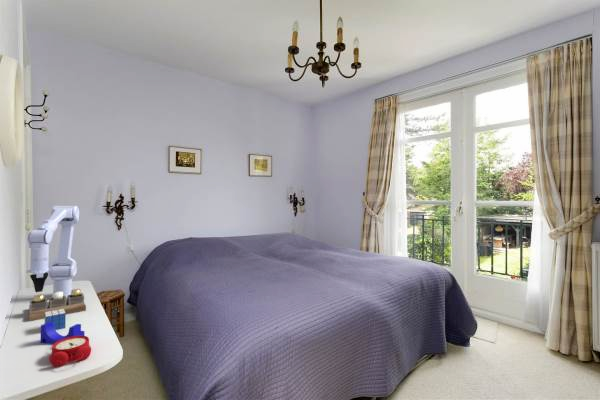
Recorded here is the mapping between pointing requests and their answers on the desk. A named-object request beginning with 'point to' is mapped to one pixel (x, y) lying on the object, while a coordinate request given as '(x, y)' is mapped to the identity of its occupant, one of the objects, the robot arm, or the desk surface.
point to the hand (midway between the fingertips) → (38, 291)
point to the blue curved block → (52, 336)
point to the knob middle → (57, 295)
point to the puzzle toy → (56, 318)
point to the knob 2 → (75, 292)
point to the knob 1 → (38, 298)
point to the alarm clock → (70, 350)
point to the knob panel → (56, 306)
